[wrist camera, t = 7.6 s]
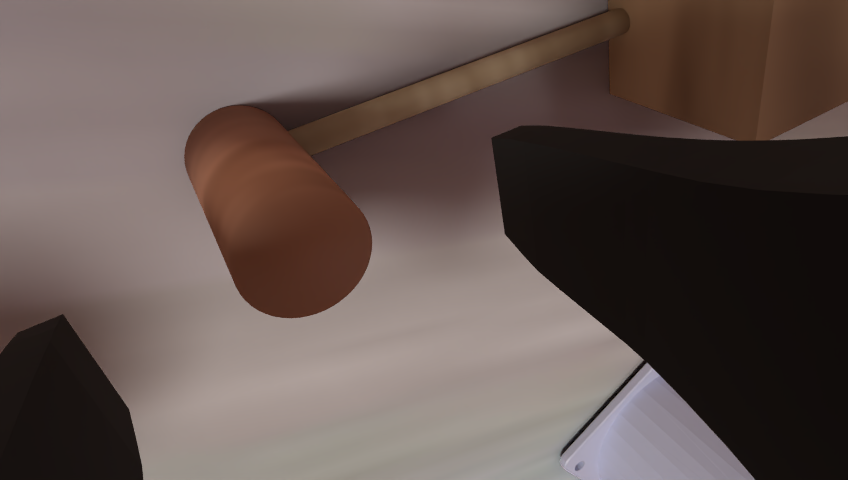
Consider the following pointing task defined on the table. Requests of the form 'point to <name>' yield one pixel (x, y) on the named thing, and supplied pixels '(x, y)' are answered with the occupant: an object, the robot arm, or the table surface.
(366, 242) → the tethered block
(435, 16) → the table surface
